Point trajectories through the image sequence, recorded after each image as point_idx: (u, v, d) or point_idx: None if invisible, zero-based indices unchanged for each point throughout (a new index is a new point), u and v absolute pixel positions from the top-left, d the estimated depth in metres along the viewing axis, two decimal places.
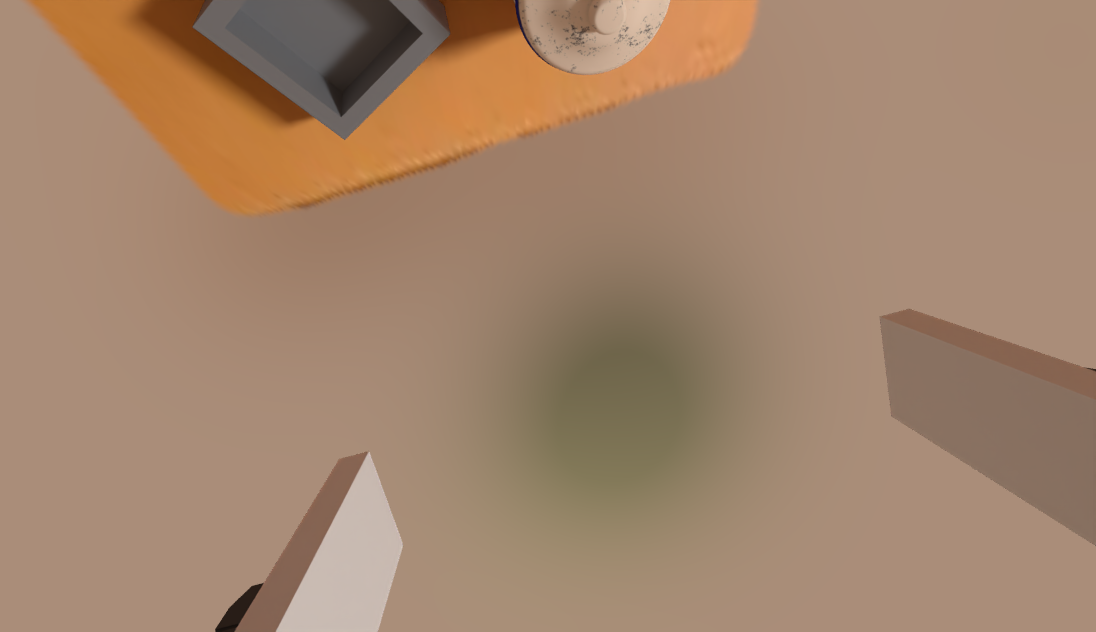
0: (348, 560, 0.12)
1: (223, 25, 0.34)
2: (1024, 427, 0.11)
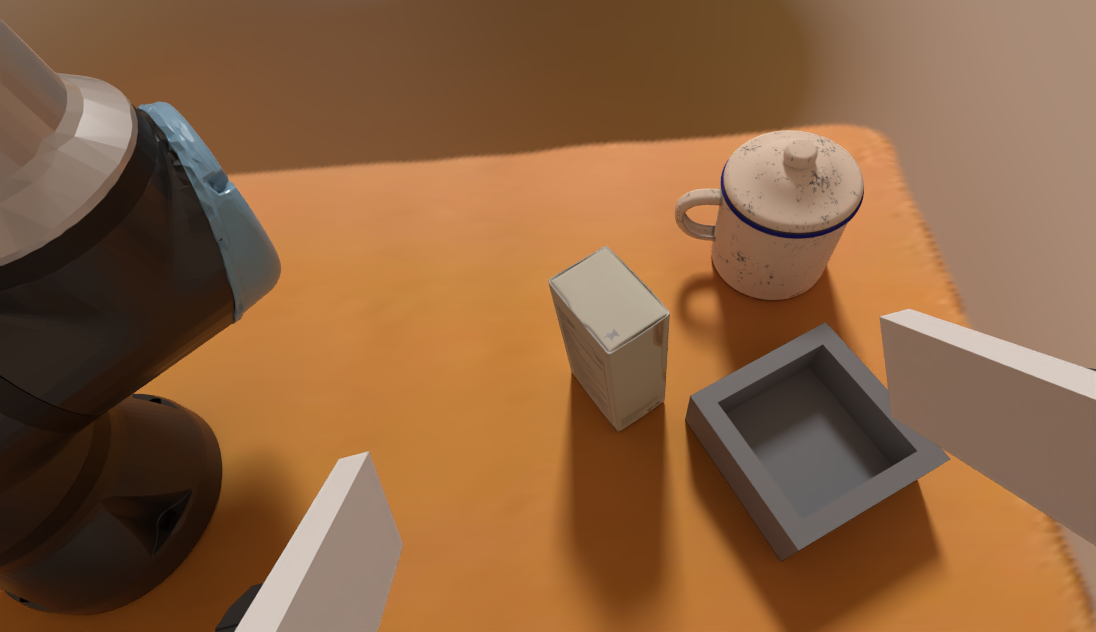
0: (348, 560, 0.12)
1: (799, 519, 0.33)
2: (1024, 427, 0.11)
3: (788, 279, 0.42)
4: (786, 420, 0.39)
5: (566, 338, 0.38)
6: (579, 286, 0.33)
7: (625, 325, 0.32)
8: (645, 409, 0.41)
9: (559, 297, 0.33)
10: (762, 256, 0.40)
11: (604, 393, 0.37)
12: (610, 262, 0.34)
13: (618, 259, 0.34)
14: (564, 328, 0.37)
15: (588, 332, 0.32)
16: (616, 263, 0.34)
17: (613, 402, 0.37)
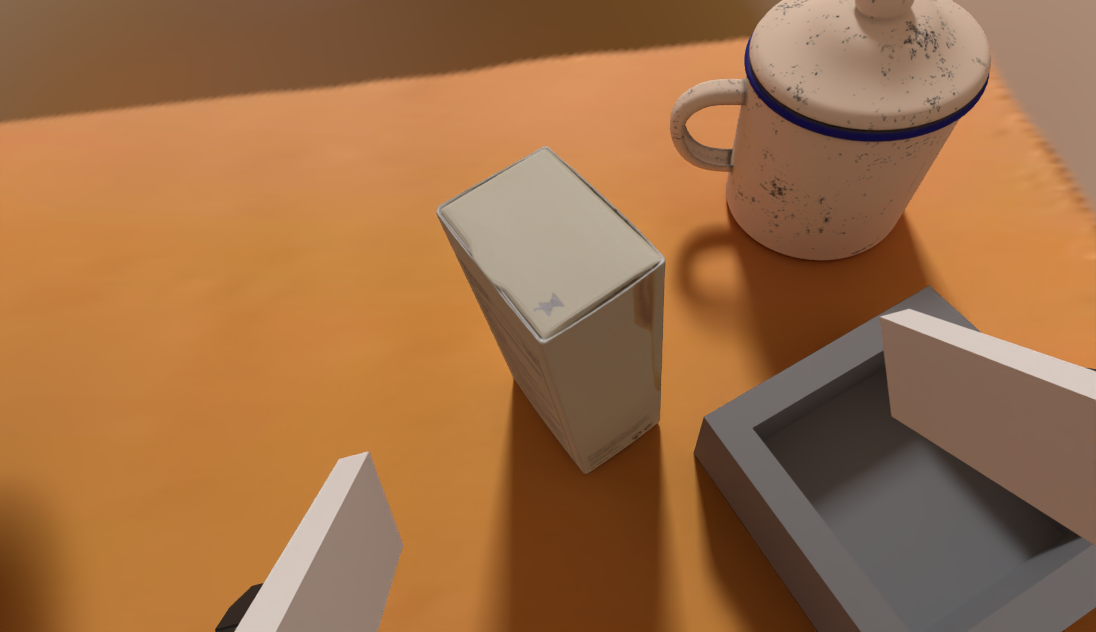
0: (348, 560, 0.12)
1: None
2: (1024, 427, 0.11)
3: (853, 223, 0.26)
4: (863, 453, 0.23)
5: (489, 321, 0.22)
6: (491, 216, 0.17)
7: (576, 285, 0.16)
8: (628, 437, 0.25)
9: (454, 238, 0.17)
10: (815, 183, 0.25)
11: (554, 415, 0.22)
12: (552, 172, 0.18)
13: (567, 167, 0.18)
14: (481, 303, 0.21)
15: (504, 301, 0.16)
16: (563, 174, 0.18)
17: (569, 431, 0.21)
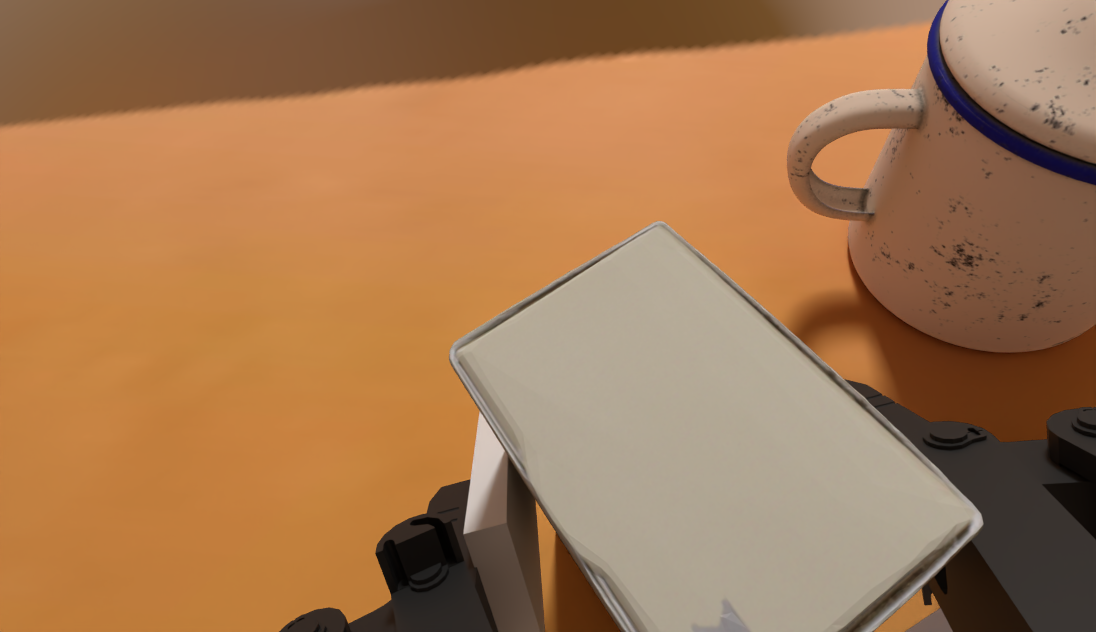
0: None
1: None
2: None
3: (1081, 309, 0.17)
4: None
5: None
6: (563, 378, 0.08)
7: (779, 581, 0.07)
8: None
9: (486, 419, 0.09)
10: (1043, 254, 0.16)
11: None
12: (680, 278, 0.09)
13: (709, 268, 0.09)
14: None
15: (604, 602, 0.07)
16: (703, 283, 0.09)
17: None
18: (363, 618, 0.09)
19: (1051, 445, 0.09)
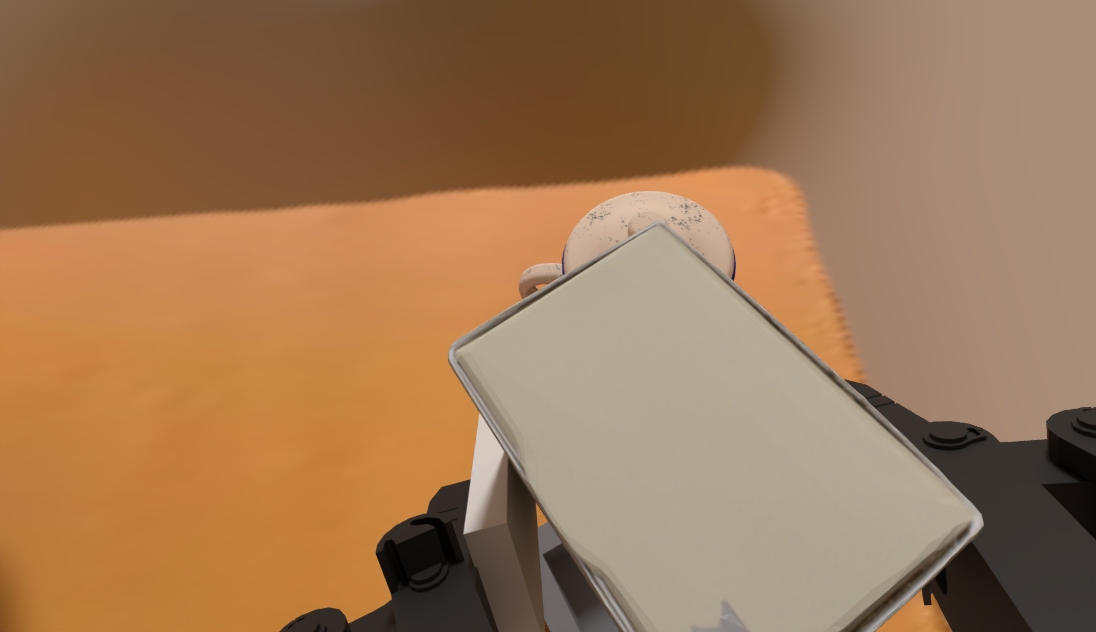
0: None
1: None
2: None
3: None
4: None
5: None
6: (562, 377, 0.08)
7: (778, 582, 0.07)
8: None
9: (485, 419, 0.08)
10: None
11: None
12: (680, 278, 0.09)
13: (708, 268, 0.09)
14: None
15: (603, 603, 0.07)
16: (703, 283, 0.09)
17: None
18: (363, 618, 0.09)
19: (1051, 445, 0.09)
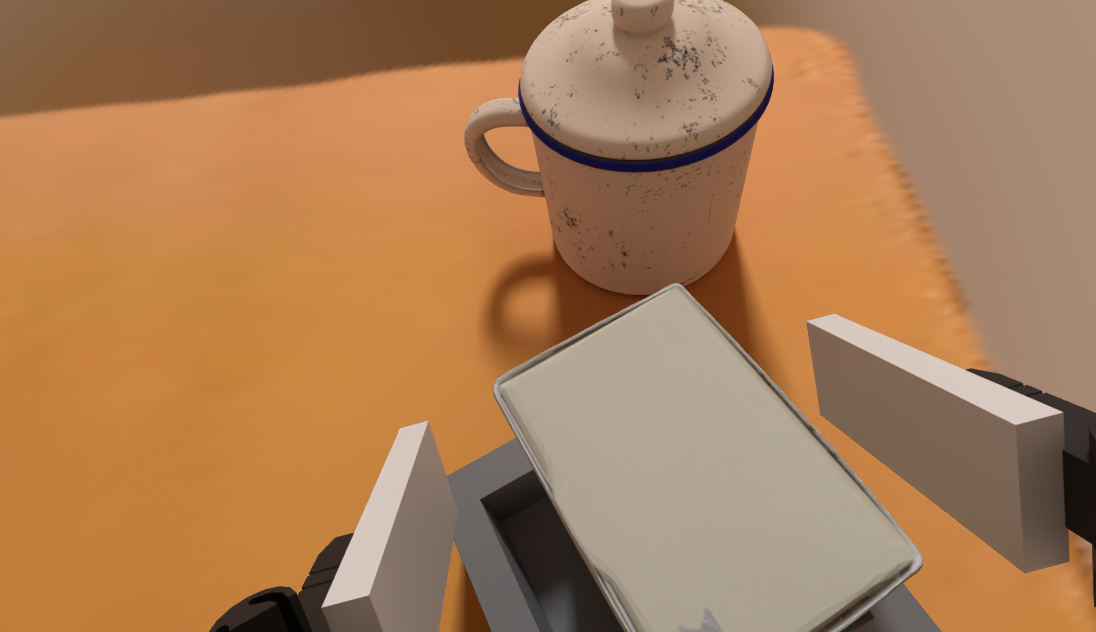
0: (421, 515, 0.13)
1: None
2: (916, 424, 0.12)
3: (655, 257, 0.24)
4: None
5: None
6: (587, 415, 0.10)
7: (752, 597, 0.08)
8: None
9: (521, 445, 0.10)
10: (598, 214, 0.22)
11: None
12: (692, 336, 0.11)
13: (716, 328, 0.11)
14: None
15: (610, 603, 0.09)
16: (710, 341, 0.11)
17: None
18: None
19: None
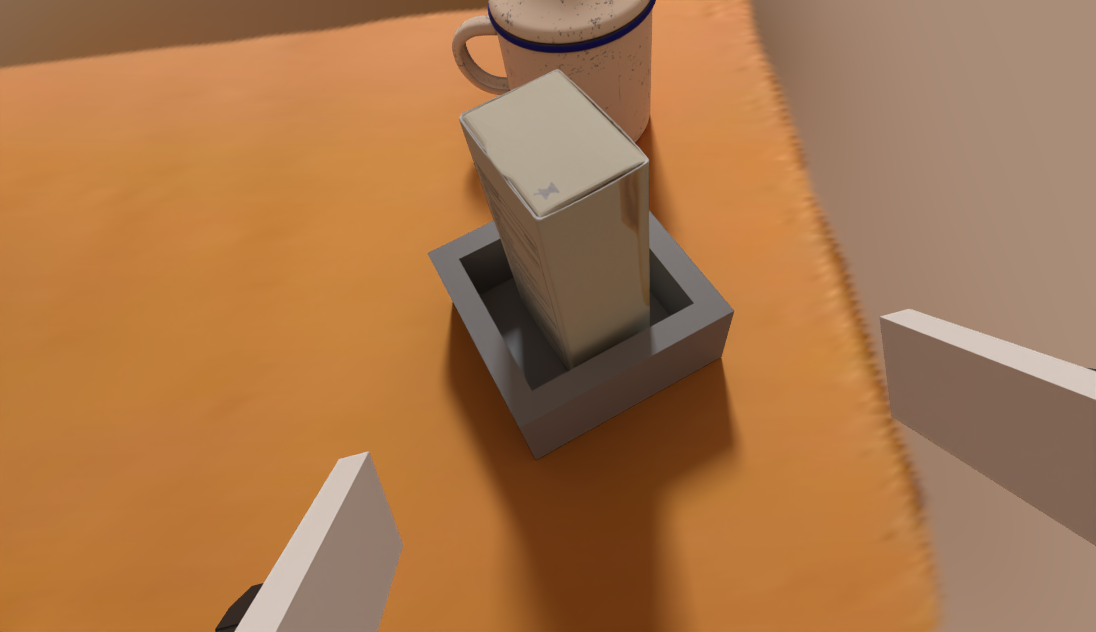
0: (348, 560, 0.12)
1: (529, 390, 0.25)
2: (1024, 427, 0.11)
3: None
4: None
5: (501, 232, 0.25)
6: (505, 122, 0.20)
7: (571, 177, 0.18)
8: None
9: (472, 140, 0.20)
10: None
11: (552, 316, 0.24)
12: (561, 90, 0.21)
13: (574, 87, 0.21)
14: (494, 212, 0.24)
15: (510, 189, 0.19)
16: (570, 92, 0.21)
17: (563, 329, 0.24)
18: None
19: None
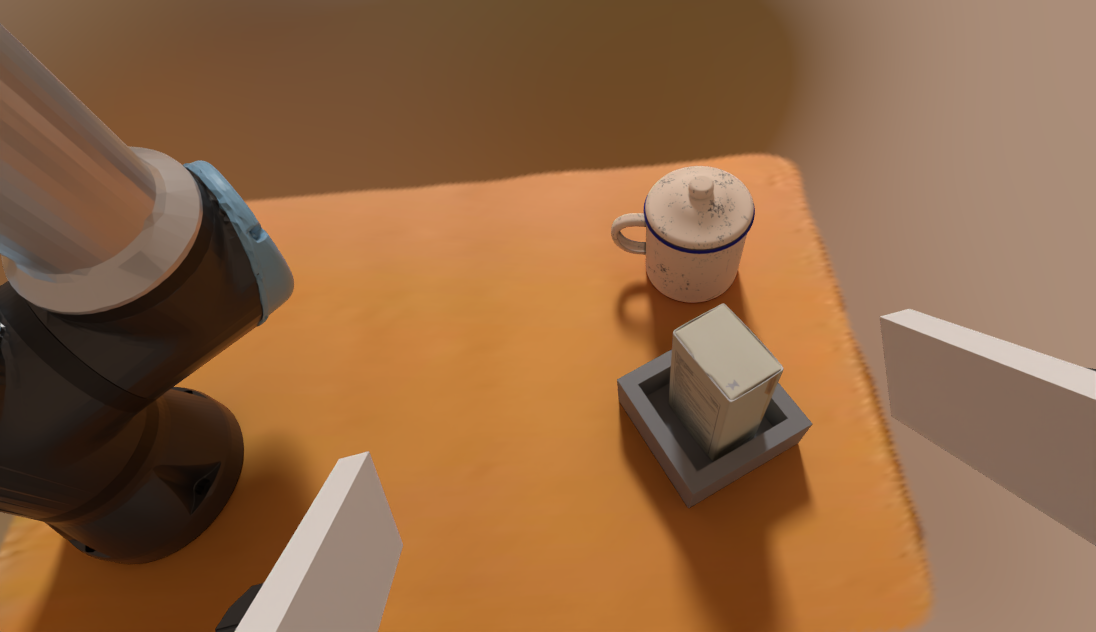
0: (348, 560, 0.12)
1: (695, 471, 0.43)
2: (1024, 427, 0.11)
3: (701, 285, 0.52)
4: None
5: (676, 378, 0.43)
6: (701, 339, 0.38)
7: (744, 377, 0.36)
8: (739, 443, 0.45)
9: (683, 347, 0.38)
10: (678, 268, 0.50)
11: (709, 429, 0.42)
12: (728, 318, 0.39)
13: (735, 316, 0.39)
14: (677, 370, 0.42)
15: (711, 381, 0.37)
16: (733, 319, 0.39)
17: (718, 438, 0.42)
18: None
19: None
